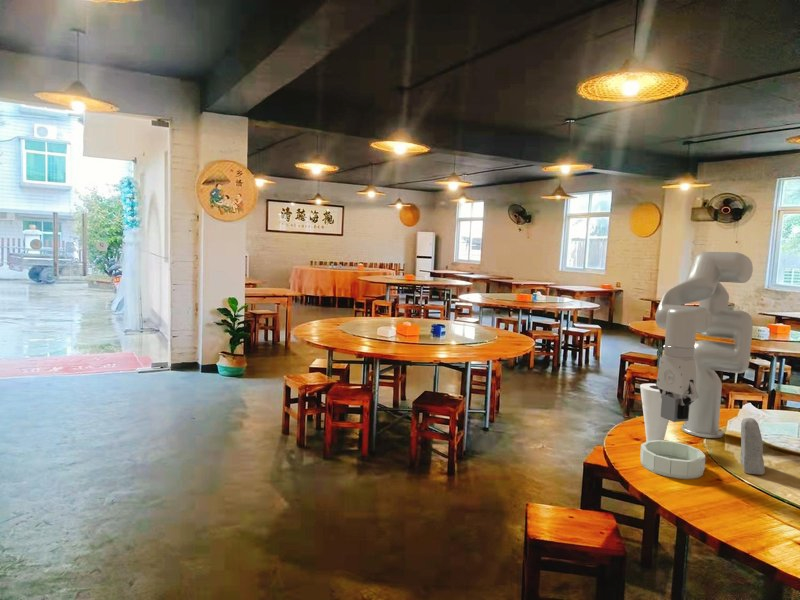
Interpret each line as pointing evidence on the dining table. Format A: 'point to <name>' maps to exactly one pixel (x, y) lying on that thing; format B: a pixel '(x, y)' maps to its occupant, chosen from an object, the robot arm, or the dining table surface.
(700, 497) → the dining table surface
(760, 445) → the decorative stone
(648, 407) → the cup
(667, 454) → the bowl
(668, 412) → the matte grey cube
